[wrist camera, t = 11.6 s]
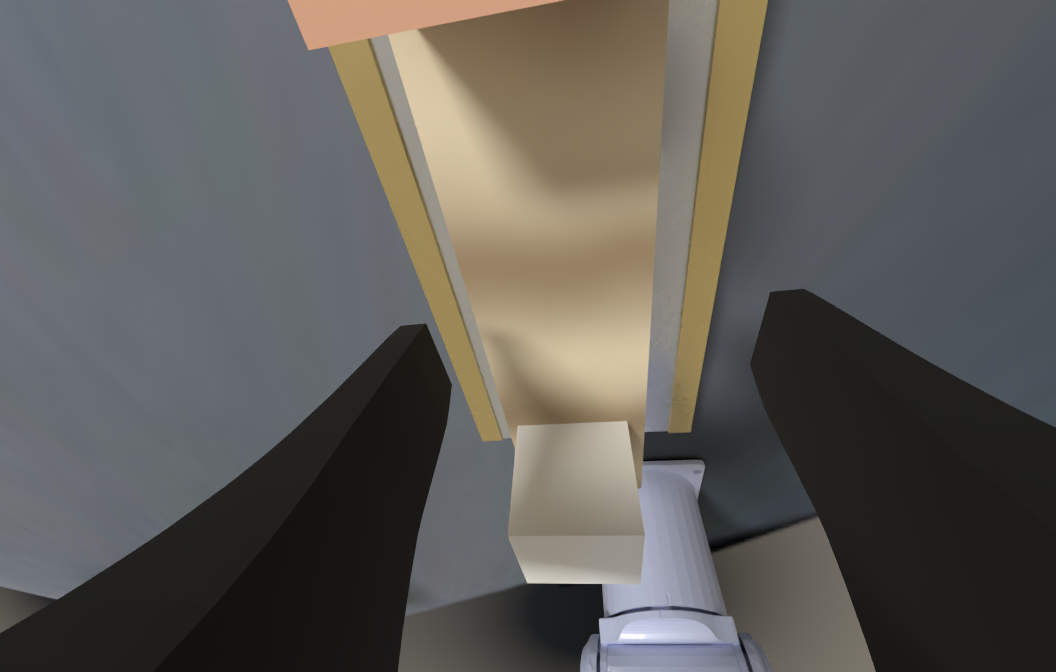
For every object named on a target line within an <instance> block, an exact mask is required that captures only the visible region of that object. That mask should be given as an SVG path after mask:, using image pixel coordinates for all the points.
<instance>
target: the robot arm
mask: <svg viewBox="0 0 1056 672" xmlns="http://www.w3.org/2000/svg"><path fill="white" fill-rule="evenodd" d="M750 366H751V369H752V372H753V375H754V378H755V382H756V385H757V388H758V391H759V394H760V396H761V399H762V402H763V405H764V408H765V410H766V412H767V414H768V416H769V418H770V420H771V422H772V424H773V426H774V428H775V430H776V432H777V434H778V436H779V438H780V440H781V442H782V444H783V446H784V448H785V450H786V452H787V454H788V456H789V458H790V460H791V462H792V464H793V466H794V468H795V470H796V472H797V474H798V476H799V478H800V480H801V482H802V484H803V486H804V488H805V490H806V492H807V494H808V496H809V498H810V500H811V502H812V504H813V506H814V508H815V510H816V512H817V514H818V516H819V519H820V521H821V523H822V525H823V528H824V530H825V532H826V534H827V537H828V539H829V542H830V545H831V547H832V550H833V552H834V555H835V558H836V560H837V563H838V566H839V568H840V571H841V573H842V576H843V578H844V581H845V584H846V587H847V589H848V592H849V595H850V598H851V601H852V603H853V606H854V609H855V612H856V615H857V617H858V620H859V623H860V626H861V629H862V632H863V634H864V637H865V640H866V643H867V646H868V649H869V652H870V655H871V658H872V661H873V664H874V667H875V670H876V672H1056V428H1055V427H1053V426H1051V425H1049V424H1047V423H1045V422H1043V421H1040V420H1038V419H1036V418H1034V417H1032V416H1030V415H1028V414H1026V413H1024V412H1022V411H1020V410H1018V409H1016V408H1014V407H1012V406H1010V405H1008V404H1006V403H1004V402H1002V401H1001V400H999V399H997V398H995V397H993V396H991V395H989V394H987V393H985V392H984V391H982V390H980V389H978V388H976V387H974V386H972V385H970V384H968V383H967V382H965V381H963V380H961V379H959V378H957V377H955V376H953V375H952V374H950V373H948V372H946V371H944V370H943V369H941V368H939V367H937V366H935V365H934V364H932V363H930V362H928V361H927V360H925V359H923V358H921V357H920V356H918V355H916V354H914V353H913V352H911V351H909V350H907V349H906V348H904V347H902V346H901V345H899V344H897V343H895V342H894V341H892V340H890V339H889V338H887V337H885V336H884V335H882V334H880V333H879V332H877V331H875V330H874V329H872V328H870V327H869V326H867V325H865V324H864V323H862V322H860V321H859V320H857V319H855V318H854V317H852V316H850V315H849V314H847V313H845V312H844V311H842V310H840V309H839V308H837V307H835V306H834V305H832V304H830V303H829V302H827V301H825V300H823V299H822V298H820V297H818V296H816V295H815V294H813V293H811V292H809V291H807V290H805V289H797V290H786V291H776V292H770V295H769V299H768V302H767V306H766V310H765V313H764V317H763V320H762V324H761V327H760V331H759V335H758V338H757V342H756V345H755V349H754V353H753V356H752V360H751V363H750ZM451 387H452V384H451V382H450V379H449V377H448V375H447V372H446V370H445V368H444V365H443V363H442V360H441V358H440V356H439V353H438V351H437V348H436V346H435V344H434V341H433V339H432V337H431V334H430V332H429V329H428V327H427V325H426V324H417V325H406V326H400V327H399V328H398V329H397V330H396V331H395V332H393V333H392V334H391V335H390V336H389V337H388V338H387V339H386V340H385V341H384V342H383V343H382V344H381V345H380V346H379V347H378V348H377V349H376V350H375V351H374V352H373V353H372V354H371V355H370V356H369V358H368V359H367V360H366V361H365V362H364V363H363V364H362V365H361V366H360V367H359V368H358V369H357V370H356V371H355V372H354V373H353V374H352V375H351V376H350V377H349V378H348V379H347V380H346V381H345V382H344V383H343V384H342V385H341V386H340V387H339V388H338V389H337V390H336V391H335V392H334V393H333V394H332V395H331V396H330V397H329V398H328V399H326V400H325V401H324V402H323V403H322V404H321V405H320V406H319V407H318V408H317V409H316V410H315V411H314V412H312V413H311V414H310V415H309V416H308V417H307V418H306V419H305V420H304V421H303V422H302V423H301V424H300V425H299V426H297V427H296V428H295V429H294V430H293V431H292V432H291V433H290V434H289V435H288V436H286V437H285V438H284V439H283V440H282V441H281V442H280V443H278V444H277V445H276V446H275V447H274V448H273V449H271V450H270V451H269V452H268V453H267V454H265V455H264V456H263V457H262V458H261V459H259V460H258V461H257V462H256V463H254V464H253V465H252V466H251V467H249V468H248V469H247V470H246V471H244V472H243V473H242V474H241V475H239V476H238V477H237V478H236V479H234V480H233V481H232V482H230V483H229V484H228V485H227V486H225V487H224V488H222V489H221V490H220V491H218V492H217V493H216V494H214V495H213V496H211V497H210V498H209V499H207V500H206V501H205V502H203V503H202V504H200V505H199V506H198V507H196V508H195V509H194V510H192V511H191V512H189V513H188V514H187V515H185V516H184V517H183V518H181V519H180V520H178V521H177V522H176V523H174V524H173V525H172V526H170V527H169V528H167V529H166V530H164V531H163V532H162V533H160V534H159V535H157V536H156V537H154V538H153V539H151V540H150V541H148V542H147V543H145V544H144V545H142V546H141V547H139V548H138V549H136V550H135V551H133V552H132V553H130V554H129V555H127V556H126V557H124V558H123V559H121V560H120V561H118V562H116V563H115V564H113V565H112V566H110V567H109V568H107V569H105V570H104V571H102V572H101V573H99V574H98V575H96V576H95V577H93V578H91V579H90V580H88V581H87V582H85V583H84V584H82V585H80V586H79V587H77V588H76V589H74V590H72V591H71V592H69V593H67V594H66V595H64V596H63V597H61V598H59V599H58V600H56V601H55V602H53V603H51V604H49V605H48V606H46V607H44V608H43V609H41V610H39V611H37V612H36V613H34V614H32V615H31V616H29V617H27V618H26V619H24V620H22V621H20V622H19V623H17V624H15V625H14V626H12V627H11V628H9V629H7V630H5V631H4V632H2V633H0V672H398V664H399V656H400V648H401V639H402V630H403V624H404V618H405V611H406V604H407V597H408V590H409V583H410V577H411V571H412V565H413V559H414V554H415V548H416V542H417V536H418V532H419V528H420V523H421V519H422V515H423V511H424V507H425V504H426V500H427V496H428V493H429V489H430V485H431V482H432V478H433V474H434V471H435V467H436V463H437V460H438V456H439V452H440V448H441V444H442V441H443V437H444V433H445V429H446V425H447V419H448V412H449V405H450V396H451ZM704 470H705V464H704V462H703V461H702V460H669V461H643V468H642V485H641V488H638V494H639V501H640V507H641V513H642V520H643V526H644V533H645V540H644V551H643V561H642V572H641V583H640V584H602V588H603V602H604V616H605V618H601V619H599V627H600V634H593V635H591V636H590V638H589V641H588V643H587V644H586V645H585V647H584V648H583V651H582V657H581V666H580V672H774V671H773V669H772V666H771V664H770V661H769V659H768V657H767V655H766V653H765V651H764V649H763V648H762V646H761V645H759V644H758V643H757V642H756V641H755V640H753V638H752V637H751V636H750V635H749V634H748V633H738V634H737V631H736V627H735V624H734V620H733V617H732V616H727V612H726V609H725V605H724V601H723V597H722V593H721V590H720V586H719V582H718V578H717V575H716V571H715V567H714V563H713V560H712V556H711V552H710V548H709V544H708V541H707V537H706V533H705V529H704V526H703V522H702V518H701V514H700V510H699V507H698V503H697V499H698V495H699V491H700V487H701V483H702V479H703V474H704Z"/></svg>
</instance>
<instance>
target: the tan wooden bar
mask: <svg viewBox="0 0 1056 672" xmlns="http://www.w3.org/2000/svg"><path fill="white" fill-rule="evenodd" d="M668 12H669V0H563V1H558V2H553V3H548V4H543V5H538V6H533V7H527V8H522V9H517V10H512V11H507V12H502V13H497V14H492V15H486V16H481V17H476V18H471V19H466V20H461V21H456V22H451V23H445V24H440V25H435V26H430V27H425V28H420V29H415V30H410V31H404V32H399V33H394V34H389V35H388V37H389V40H390V43H391V47H392V50H393V53H394V56H395V60H396V63H397V66H398V69H399V73H400V76H401V79H402V82H403V86H404V89H405V92H406V96H407V99H408V102H409V105H410V109H411V112H412V115H413V118H414V122H415V125H416V128H417V131H418V135H419V138H420V141H421V144H422V148H423V151H424V154H425V157H426V161H427V164H428V167H429V170H430V174H431V177H432V180H433V183H434V187H435V190H436V193H437V196H438V200H439V203H440V206H441V209H442V213H443V216H444V219H445V223H446V226H447V229H448V232H449V236H450V239H451V242H452V245H453V249H454V252H455V255H456V258H457V262H458V265H459V268H460V271H461V275H462V278H463V281H464V284H465V288H466V291H467V294H468V297H469V301H470V304H471V307H472V310H473V314H474V317H475V320H476V323H477V327H478V330H479V333H480V337H481V340H482V343H483V346H484V350H485V353H486V356H487V359H488V363H489V366H490V369H491V372H492V376H493V379H494V382H495V385H496V389H497V392H498V395H499V398H500V402H501V405H502V408H503V411H504V415H505V418H506V421H507V424H508V428H509V431H510V434H511V437H512V441H513V444H514V447H515V450H516V439H517V428H518V426H523V425H546V424H568V423H591V422H614V421H627V423H628V430H629V436H630V443H631V449H632V456H633V462H634V468H635V475H636V481H637V488H641V485H642V468H643V450H644V433H645V415H646V398H647V380H648V363H649V345H650V328H651V310H652V292H653V275H654V257H655V240H656V222H657V205H658V187H659V170H660V152H661V134H662V117H663V99H664V82H665V64H666V47H667V29H668Z"/></svg>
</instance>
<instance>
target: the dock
mask: <svg viewBox="0 0 1056 672" xmlns="http://www.w3.org/2000/svg"><path fill="white" fill-rule="evenodd" d="M767 3H768V0H669V12H668V29H667V47H666V64H665V82H664V99H663V117H662V134H661V152H660V170H659V187H658V205H657V222H656V240H655V257H654V275H653V292H652V310H651V328H650V345H649V363H648V380H647V398H646V415H645V432H657V431H668V433H686V432H691V427H692V421H693V416H694V410H695V405H696V399H697V394H698V388H699V382H700V377H701V371H702V366H703V360H704V355H705V349H706V343H707V338H708V332H709V327H710V321H711V315H712V310H713V304H714V299H715V293H716V288H717V282H718V276H719V271H720V265H721V260H722V254H723V249H724V243H725V237H726V232H727V226H728V221H729V215H730V210H731V204H732V198H733V193H734V187H735V182H736V176H737V171H738V165H739V159H740V154H741V148H742V143H743V137H744V132H745V126H746V120H747V115H748V109H749V104H750V98H751V93H752V87H753V81H754V76H755V70H756V65H757V59H758V54H759V48H760V42H761V37H762V31H763V26H764V20H765V15H766V9H767ZM328 47H329V50H330V53H331V55H332V58H333V60H334V63H335V65H336V68H337V70H338V73H339V75H340V78H341V81H342V83H343V86H344V88H345V91H346V93H347V96H348V98H349V101H350V104H351V106H352V109H353V111H354V114H355V116H356V119H357V121H358V124H359V127H360V129H361V132H362V134H363V137H364V139H365V142H366V144H367V147H368V150H369V152H370V155H371V157H372V160H373V162H374V165H375V167H376V170H377V172H378V175H379V178H380V180H381V183H382V185H383V188H384V190H385V193H386V195H387V198H388V201H389V203H390V206H391V208H392V211H393V213H394V216H395V218H396V221H397V224H398V226H399V229H400V231H401V234H402V236H403V239H404V241H405V244H406V247H407V249H408V252H409V254H410V257H411V259H412V262H413V264H414V267H415V269H416V272H417V275H418V277H419V280H420V282H421V285H422V287H423V290H424V292H425V295H426V298H427V300H428V303H429V305H430V308H431V310H432V313H433V315H434V318H435V321H436V323H437V326H438V328H439V331H440V333H441V336H442V338H443V341H444V344H445V346H446V349H447V351H448V354H449V356H450V359H451V361H452V364H453V366H454V369H455V372H456V374H457V377H458V379H459V382H460V384H461V387H462V389H463V392H464V395H465V397H466V400H467V402H468V405H469V407H470V410H471V412H472V415H473V418H474V420H475V423H476V425H477V428H478V430H479V433H480V435H481V438H482V441H500V440H502V438H512V437H511V434H510V431H509V428H508V424H507V421H506V418H505V415H504V411H503V408H502V405H501V402H500V398H499V395H498V392H497V389H496V385H495V382H494V379H493V376H492V372H491V369H490V366H489V363H488V359H487V356H486V353H485V350H484V346H483V343H482V340H481V337H480V333H479V330H478V327H477V323H476V320H475V317H474V314H473V310H472V307H471V304H470V301H469V297H468V294H467V291H466V288H465V284H464V281H463V278H462V275H461V271H460V268H459V265H458V262H457V258H456V255H455V252H454V249H453V245H452V242H451V239H450V236H449V232H448V229H447V226H446V223H445V219H444V216H443V213H442V209H441V206H440V203H439V200H438V196H437V193H436V190H435V187H434V183H433V180H432V177H431V174H430V170H429V167H428V164H427V161H426V157H425V154H424V151H423V148H422V144H421V141H420V138H419V135H418V131H417V128H416V125H415V122H414V118H413V115H412V112H411V109H410V105H409V102H408V99H407V96H406V92H405V89H404V86H403V82H402V79H401V76H400V73H399V69H398V66H397V63H396V60H395V56H394V53H393V50H392V47H391V43H390V40H389V37H388V35H384V36H379V37H374V38H369V39H363V40H358V41H353V42H348V43H343V44H338V45H333V46H328Z"/></svg>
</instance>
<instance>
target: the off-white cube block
mask: <svg viewBox="0 0 1056 672" xmlns="http://www.w3.org/2000/svg"><path fill="white" fill-rule="evenodd" d="M508 538H509V541H510V543H511V545H512V548H513V550H514V552H515V555H516V557H517V559H518V562H519V564H520V566H521V569H522V571H523V574H524V576H525V578H526V581H527V583H573V584H640V583H641V572H642V561H643V551H644V540H645V533H644V526H643V520H642V513H641V507H640V501H639V494H638V488H637V481H636V475H635V468H634V462H633V456H632V449H631V443H630V436H629V430H628V423H627V421H614V422H591V423H568V424H546V425H523V426H518V428H517V439H516V450H515V461H514V472H513V483H512V494H511V505H510V516H509V527H508Z"/></svg>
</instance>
